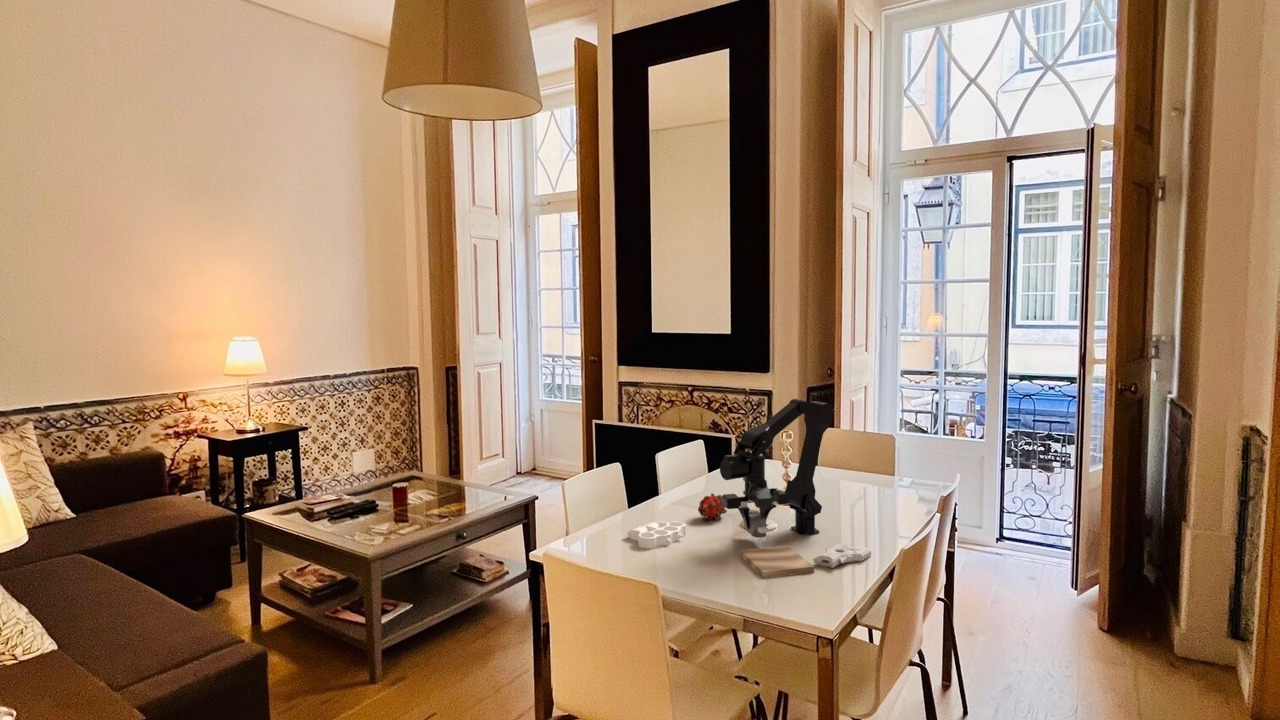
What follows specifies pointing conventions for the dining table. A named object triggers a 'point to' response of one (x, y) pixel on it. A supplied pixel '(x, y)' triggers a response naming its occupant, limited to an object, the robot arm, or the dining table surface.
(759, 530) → the plug
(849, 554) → the gun
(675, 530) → the white egg tray
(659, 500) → the dining table surface
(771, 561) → the oak board
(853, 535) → the dining table surface
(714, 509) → the dragon fruit
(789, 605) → the dining table surface
